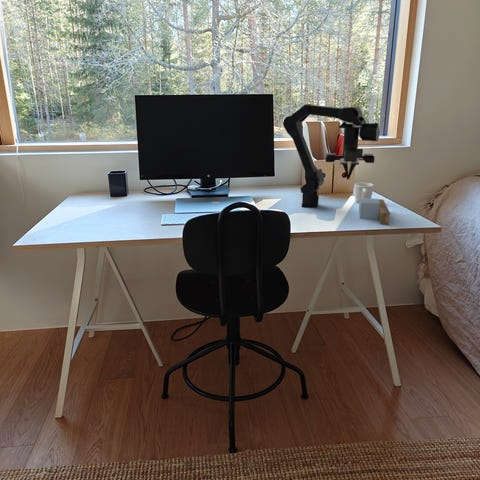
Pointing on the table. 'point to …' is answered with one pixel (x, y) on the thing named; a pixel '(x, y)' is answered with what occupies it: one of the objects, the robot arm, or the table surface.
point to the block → (369, 208)
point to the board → (383, 213)
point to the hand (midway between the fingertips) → (347, 179)
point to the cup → (363, 190)
